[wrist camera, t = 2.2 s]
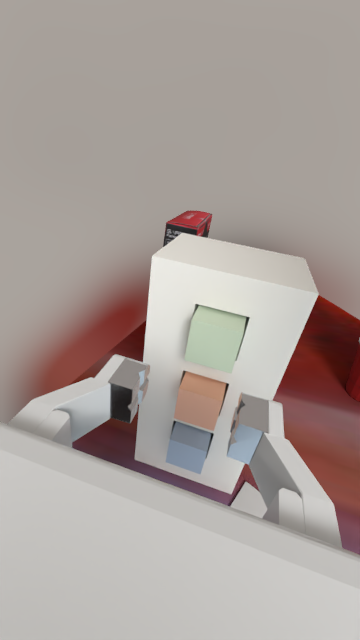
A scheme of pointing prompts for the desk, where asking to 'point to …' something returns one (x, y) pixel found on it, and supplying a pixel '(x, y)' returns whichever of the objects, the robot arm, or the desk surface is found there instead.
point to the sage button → (215, 338)
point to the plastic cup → (354, 378)
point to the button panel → (254, 352)
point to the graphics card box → (188, 225)
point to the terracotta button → (199, 400)
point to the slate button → (188, 447)
